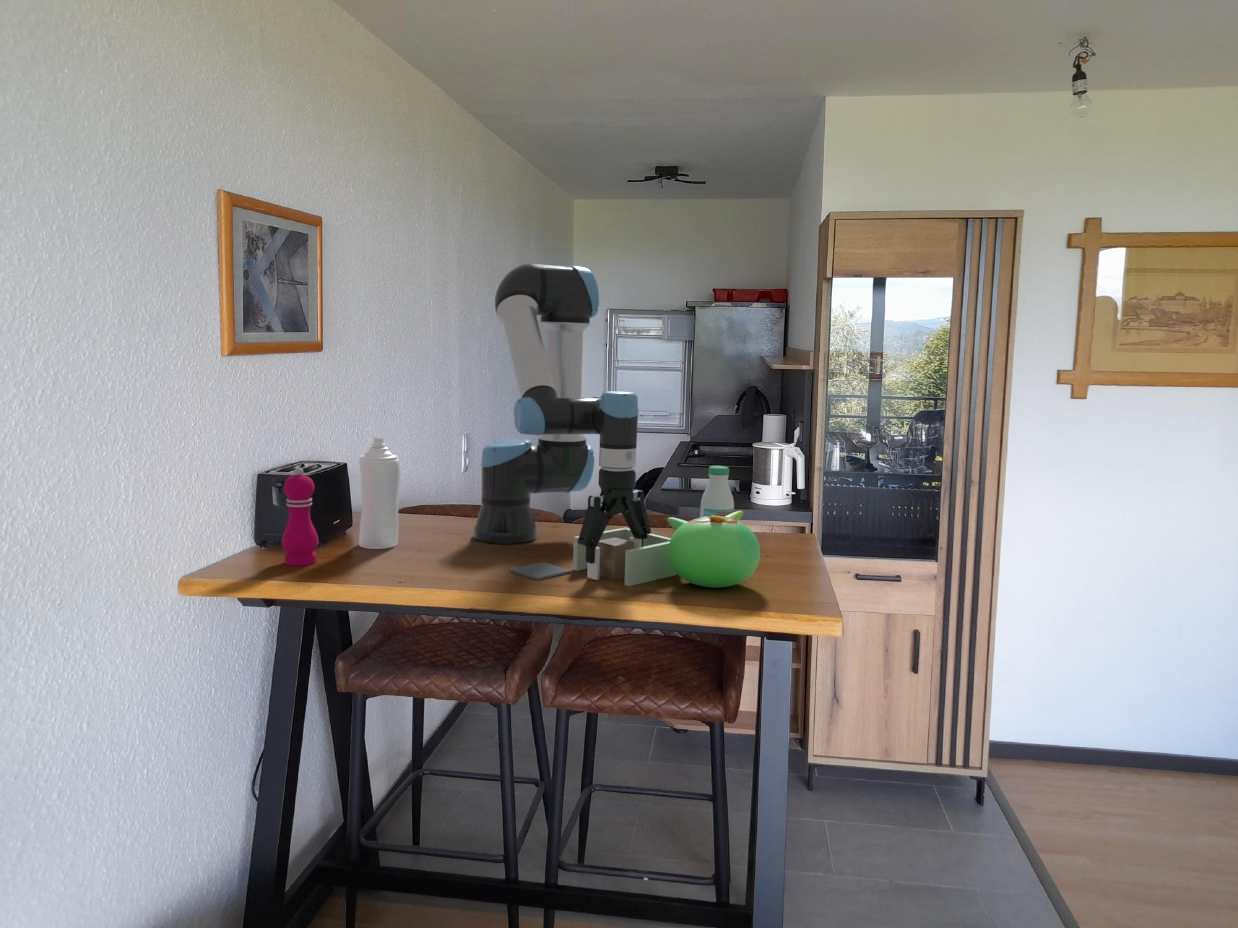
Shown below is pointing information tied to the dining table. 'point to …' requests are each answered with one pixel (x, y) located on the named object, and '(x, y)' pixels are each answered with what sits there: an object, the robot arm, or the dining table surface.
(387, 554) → the dining table surface
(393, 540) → the spray can
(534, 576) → the coaster
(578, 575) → the dining table surface
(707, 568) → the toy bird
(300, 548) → the pepper mill
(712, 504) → the milk bottle
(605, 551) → the walnut block
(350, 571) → the dining table surface
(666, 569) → the u-shaped panel enclosure
